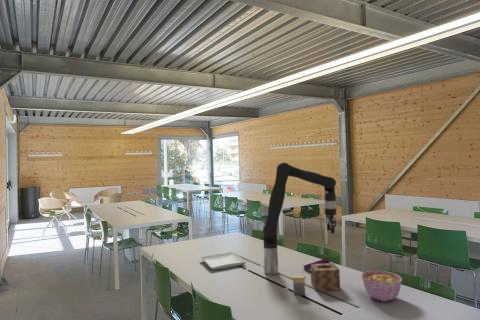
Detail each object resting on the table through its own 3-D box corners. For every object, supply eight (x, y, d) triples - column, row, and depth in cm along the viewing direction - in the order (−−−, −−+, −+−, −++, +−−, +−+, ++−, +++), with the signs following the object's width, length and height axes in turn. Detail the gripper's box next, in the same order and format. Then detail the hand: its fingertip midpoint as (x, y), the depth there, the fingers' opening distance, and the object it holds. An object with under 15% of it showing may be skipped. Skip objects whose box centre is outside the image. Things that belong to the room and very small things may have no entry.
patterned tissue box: (315, 291, 191) (315, 270, 191) (311, 283, 203) (310, 263, 203) (340, 290, 191) (339, 269, 191) (334, 282, 203) (333, 263, 203)
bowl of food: (391, 289, 190) (390, 269, 189) (410, 305, 170) (409, 282, 169) (356, 291, 189) (356, 271, 189) (371, 307, 169) (371, 284, 169)
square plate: (211, 272, 230) (211, 267, 230) (199, 261, 255) (199, 256, 255) (247, 266, 241) (246, 260, 241) (232, 256, 266) (232, 251, 266)
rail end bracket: (294, 295, 186) (293, 277, 186) (293, 293, 189) (293, 276, 189) (305, 295, 186) (304, 277, 186) (304, 293, 189) (303, 275, 189)
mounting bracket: (305, 279, 227) (323, 273, 214) (300, 266, 229) (318, 260, 217) (314, 275, 232) (333, 270, 220) (309, 263, 235) (328, 257, 222)
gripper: (321, 205, 226) (322, 229, 227) (327, 209, 212) (328, 234, 212) (332, 205, 227) (333, 229, 227) (339, 208, 212) (339, 234, 212)
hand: (330, 231), depth 219 cm, fingers open, 8 cm apart
